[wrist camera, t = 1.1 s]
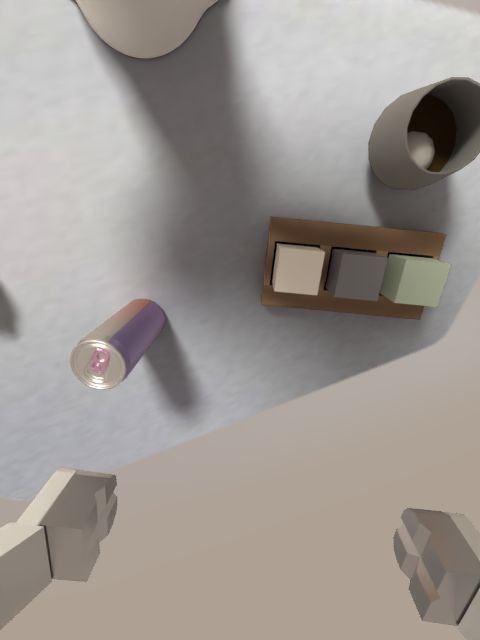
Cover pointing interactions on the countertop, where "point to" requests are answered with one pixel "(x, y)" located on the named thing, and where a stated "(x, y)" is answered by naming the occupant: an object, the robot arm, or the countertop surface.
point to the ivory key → (297, 269)
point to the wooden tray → (346, 237)
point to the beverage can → (117, 344)
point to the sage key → (414, 280)
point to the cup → (427, 134)
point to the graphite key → (356, 274)
